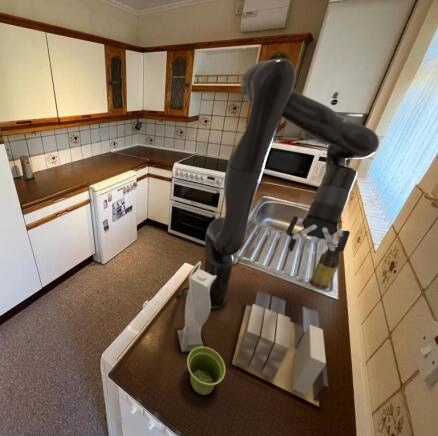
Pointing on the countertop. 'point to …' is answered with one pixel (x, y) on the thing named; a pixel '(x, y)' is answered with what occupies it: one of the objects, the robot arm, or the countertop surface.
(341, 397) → the countertop surface
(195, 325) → the skyscraper
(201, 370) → the plant pot
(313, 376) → the white book
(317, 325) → the book board
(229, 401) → the countertop surface
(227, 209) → the robot arm
